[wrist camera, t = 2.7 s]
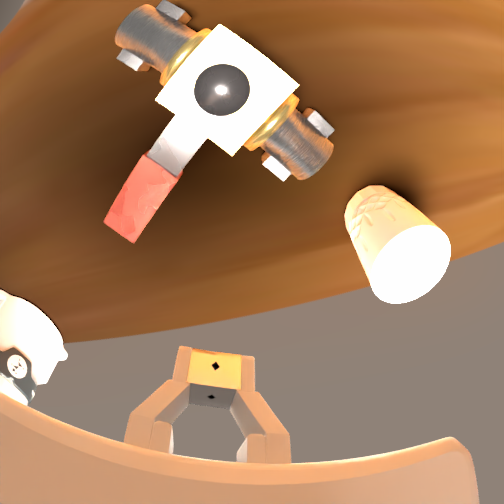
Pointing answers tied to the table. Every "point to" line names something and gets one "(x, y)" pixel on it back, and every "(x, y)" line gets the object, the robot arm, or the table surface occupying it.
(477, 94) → the table surface
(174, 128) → the lever
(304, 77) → the table surface
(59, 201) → the table surface
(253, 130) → the valve
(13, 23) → the table surface
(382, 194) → the white cup
